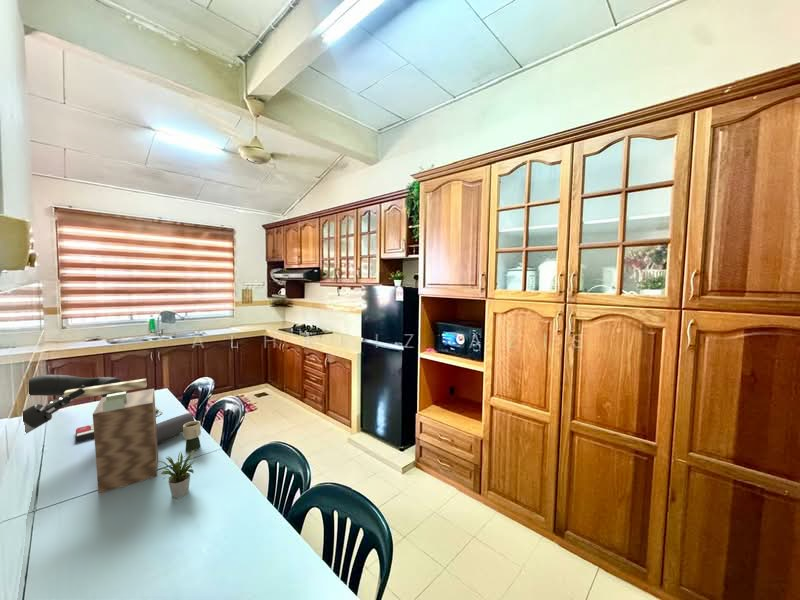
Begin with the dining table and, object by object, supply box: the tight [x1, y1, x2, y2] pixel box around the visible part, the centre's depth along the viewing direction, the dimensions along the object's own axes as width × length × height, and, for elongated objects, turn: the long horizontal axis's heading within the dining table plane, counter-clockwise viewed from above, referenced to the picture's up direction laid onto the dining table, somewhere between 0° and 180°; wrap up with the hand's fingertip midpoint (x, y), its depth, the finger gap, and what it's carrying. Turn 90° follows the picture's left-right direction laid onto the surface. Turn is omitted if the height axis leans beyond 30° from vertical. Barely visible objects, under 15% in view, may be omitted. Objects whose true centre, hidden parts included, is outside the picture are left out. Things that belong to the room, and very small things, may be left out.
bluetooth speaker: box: [156, 412, 195, 445], centre depth 163 cm, size 23×9×10 cm, turn 154°
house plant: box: [154, 449, 197, 499], centre depth 119 cm, size 14×14×16 cm
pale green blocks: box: [103, 391, 128, 412], centre depth 127 cm, size 6×12×4 cm, turn 37°
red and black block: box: [75, 424, 95, 444], centre depth 169 cm, size 11×4×15 cm
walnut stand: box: [92, 388, 159, 495], centre depth 134 cm, size 18×22×32 cm
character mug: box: [182, 420, 202, 453], centre depth 152 cm, size 11×7×13 cm, turn 58°
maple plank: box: [64, 378, 148, 400], centre depth 125 cm, size 24×4×3 cm, turn 127°
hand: (84, 388), depth 121 cm, fingers closed on maple plank, 3 cm apart
